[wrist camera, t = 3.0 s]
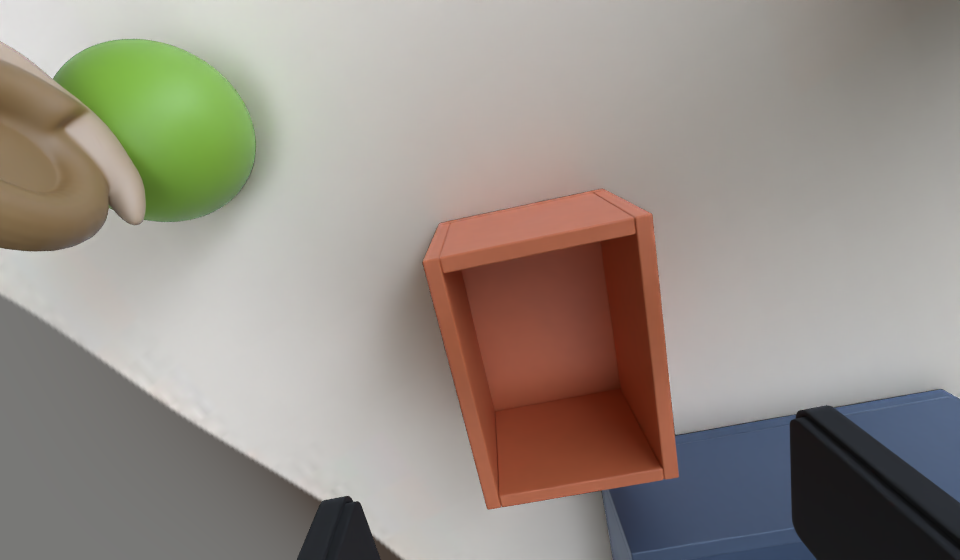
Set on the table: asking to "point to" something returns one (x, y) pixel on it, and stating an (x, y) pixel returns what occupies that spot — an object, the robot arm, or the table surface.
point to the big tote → (765, 483)
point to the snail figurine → (115, 142)
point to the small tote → (556, 346)
